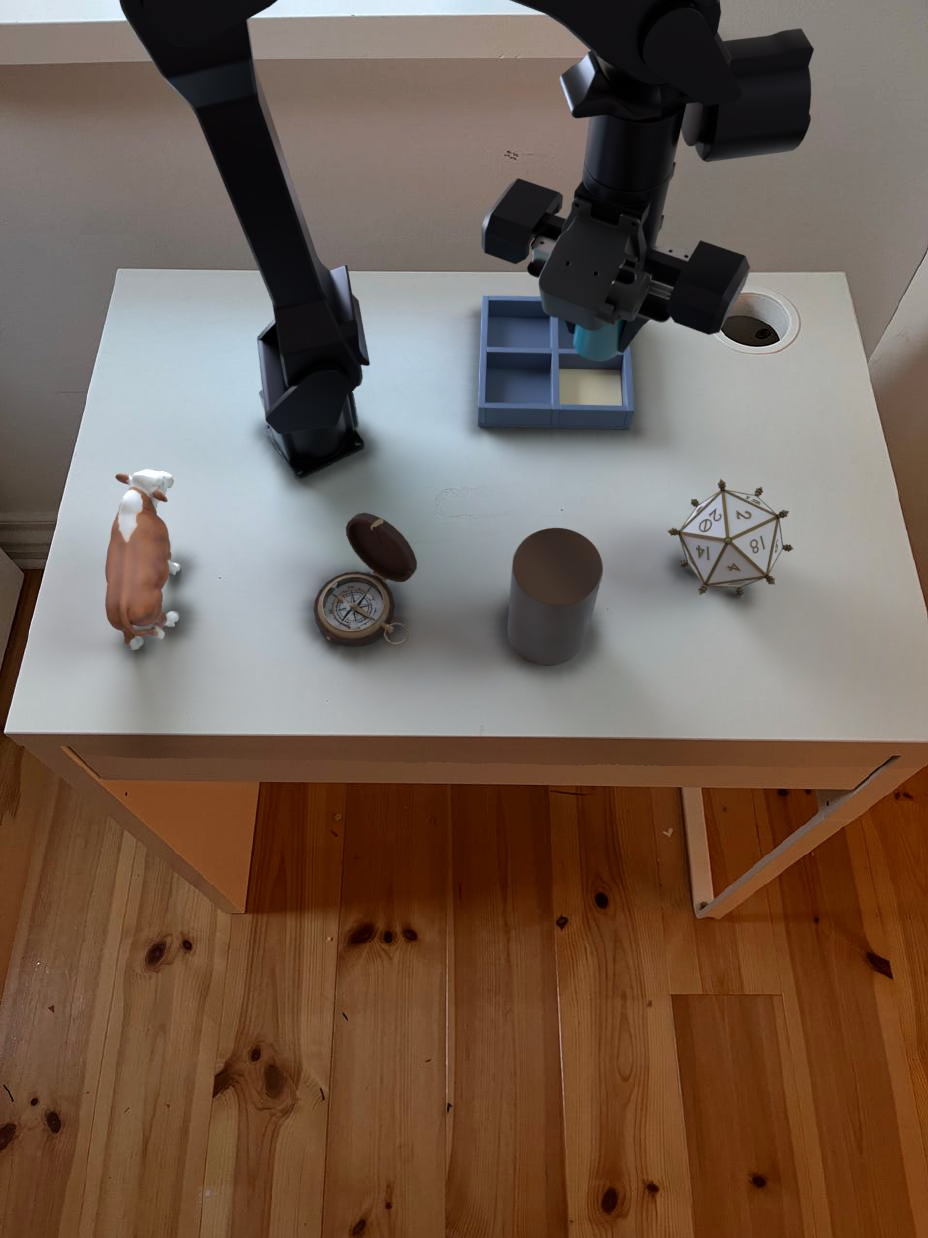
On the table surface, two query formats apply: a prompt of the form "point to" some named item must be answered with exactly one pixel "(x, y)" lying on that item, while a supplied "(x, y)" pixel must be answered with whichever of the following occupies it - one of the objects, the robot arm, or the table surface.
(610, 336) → the cylinder
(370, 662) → the table surface
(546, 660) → the stand
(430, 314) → the table surface
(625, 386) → the grid
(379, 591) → the compass
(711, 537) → the game die
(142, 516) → the bull figurine
